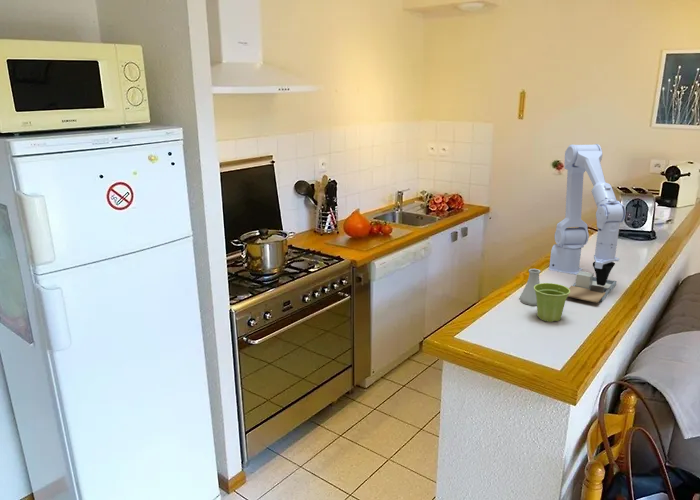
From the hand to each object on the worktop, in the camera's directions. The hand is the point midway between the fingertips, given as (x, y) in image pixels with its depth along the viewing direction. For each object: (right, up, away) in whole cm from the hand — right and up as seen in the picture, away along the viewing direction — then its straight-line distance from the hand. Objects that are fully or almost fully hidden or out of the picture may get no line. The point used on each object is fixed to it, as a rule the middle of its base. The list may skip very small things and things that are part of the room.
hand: (601, 284), depth 166 cm
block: (-5, -2, +2) cm, 5 cm away
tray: (-2, -2, +2) cm, 4 cm away
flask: (-24, -5, -6) cm, 25 cm away
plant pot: (-23, -8, -17) cm, 30 cm away
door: (-8, -3, -5) cm, 10 cm away
